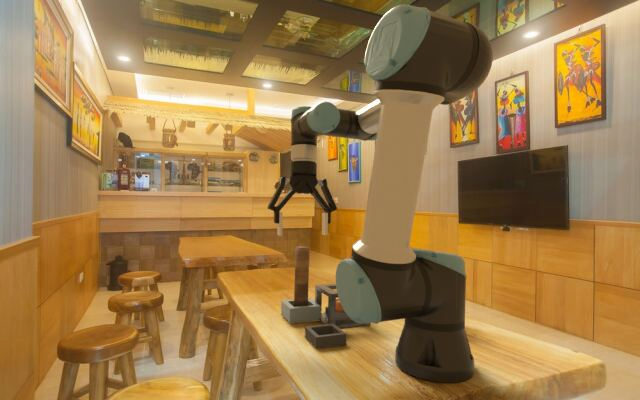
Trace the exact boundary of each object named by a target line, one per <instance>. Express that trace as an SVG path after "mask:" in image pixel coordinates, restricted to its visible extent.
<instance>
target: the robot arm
mask: <svg viewBox="0 0 640 400" xmlns="http://www.w3.org/2000/svg"><path fill="white" fill-rule="evenodd" d="M367 42H368V43H367V45H366V50H365V53H364V67H365V72H366V75H367V76H368V77H369V78H370V79H372V80H373V81H375V86H374V91H373V93H374V96H375V97H376V99H375V100H374V101H372V102H370V103H369V104H367V105H366V106H364V107H361V109H359V110H350V109H344V108H338V107H337V106H336V105H335V104H334V103H332V102H330V101H321V102H319V103H316V104H314V105H312V106H308V105H300V106H295V107H294V108H293V109H292V110H291V117H290V125H291V129H290V159H291V162H290V177H289V178H288V177H286V176H282V177H280V178H279V180H278V186H277V188H276V190H275V192H274V194H273V196H272V197H271V199H270V202H269V203H268V206H267V210H270V211H273V223H274V224H277V226H276V229H277V231H276V233H277V234H276V235H277V236H279V237H282V236H283V217H284V214H283V212H282V211H281V210H282V209H283V208H284V206H286V204H287V203H288V201H290V200H291V198H292V197H293V196H294V195H295V194H297V195H300V194H304V195H311V196H312V197H313V198H314V200H315V201H316V202H317V203H318V205H319V206H320V208H321V209H322V210H323V211H324V212H322V213H321V235H322V236H328V234H329V228H328V227H329V224H331V222H332V221H331V218H332V217H331V216H332V212H334V211H337V209H338V208H337V204H336V203H335V200H334V198H333V196H332V193H331V192H330V189H329V187H328V180H327V179H326V178H322V179H318V178H317V175H318V174H317V171H318V169H317V167H318V166H317V165H318V163H316V161H318V160H317V159H318V155H317V154H318V138H319V137H320V136H326V137H336V138H344V139H351V140H360V141H364V142H366V141H375V147H374V153H373V154H374V155H373V158H372V159H373V160H372V168H371V175H370V180H369V188H368V195H367V201H366V206H365V207H366V208H365V216H364V221H363V228H362V229H363V230H362V234H361V238H359V239H358V240H356V241H355V242H354V243H353V244H352V246H351V247H352V248H351V254H350V257H347V258H344V259H342V260H340V261H339V263H338V264H337V266H336V268H335V269H336V270H335V284H336V289H335V290H336V291H337V294H338V299H339V300H340V303H341V305H342V307H343V309H344V311H345V313H346V314H347V315H348V317H349V318H350V319H352V320H353V321H354V322H356V323H360V324H365V323H370V324H374V325H375V324H376V325H377V324H379V323H382V322H389V321H396V320H398V321H399V320H404V322H403V323H404V324H403V328H402V331H401V333H400V337H399V339H398V343H397V345H396V347H395V353H394V354H395V356H394V359H395V364H396V365H397V367H398V368H399V369H400V370H402V371H403V372H405V373H406V374H408V375H411V376H413V377H415V378H418V379H422V380H426V381H430V382H437V383H460V382H463V381H467V380H470V379H471V378H472V377H473V376H474V374H475V358H474V355H473V354H472V351H471V347H470V343H469V342H470V341H469V340H468V336H467V333H466V324H465V323H466V292H467V291H466V284H467V282H466V280H467V274H466V263H465V260H464V259H463V257H462V256H461V255H458V254H454V253H450V252H449V253H448V252H441V251H435V250H429V249H428V250H427V249H421V248H414V247H413V248H412V247H411V246H410V243H411V237H412V234H413V233H412V232H413V227H414V220H415V215H416V208H417V204H418V203H417V202H418V197H419V191H420V186H421V181H422V180H421V179H422V173H423V170H424V163H425V157H426V156H425V155H426V151H427V146H428V141H429V140H428V139H429V135H430V134H429V133H430V128H431V122H432V117H433V111H434V110H435V109H436V108H437V107H438V106H439V105H442V106H447V105H451V104H453V103H456V102H458V101H460V100H462V99H464V98H466V97H468V96H469V95H471V94H472V93H474V92H476V91H477V90H478V89H479V88H480V87H481V86H482V85H483V84H484V82H485V81H486V79H487V78H488V76H489V74H490V72H491V70H492V65H493V61H494V53H493V46H492V43H491V41H490V38H489V37H488V35H487V33H485V32H484V31H483V30H482V29H481V28H480V27H478V26H477V25H475V24H473V23H470V22H467V21H462V20H459V19H456V18H453V17H450V16H448V15H445V14H441V13H438V12H435V11H432V10H429V9H428V8H427V7H425V6H420V7H419V6H415V5H411V4H408V3H407V4H406V3H405V4H403V3H402V4H398V5H396V6H394V7H393V8H391V9H390V10H388V11H387V12H385V14H384V15H383V16H382V17H381V18H380V19H379V21H378V22H377V24H376V26H375V27H374V29H373V30H372V33H371V35H370V37H369V40H368V41H367ZM288 184H289V185H290V186H291V187H290V189H289V190H288V191H287V192H286V194H285V195H284V196H283V197H282V199H280V201H279V202H278V200H279V198H280V196H281V194H282V192H283V190H284V188H285V187H286V185H288ZM317 185H318V186H319V187H320V190H321V192H322V194H323V196H324V198H323V197H322V196H321V194H320V192H319V191H318V189H317V188H316V186H317ZM325 200H326V201H325ZM277 202H278V203H277Z"/></svg>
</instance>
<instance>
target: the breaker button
mask: <svg viewBox="0 0 640 400" xmlns="http://www.w3.org/2000/svg"><path fill="white" fill-rule="evenodd" d="M336 312H344V309H343V307H342V305H341V303H340V300H339V298H336Z"/></svg>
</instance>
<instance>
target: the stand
mask: <svg viewBox="0 0 640 400" xmlns="http://www.w3.org/2000/svg"><path fill="white" fill-rule="evenodd" d="M304 329H305V331H304V338H305V339H306V340H307V341H308V342H309V343H310V344H311V346H313V347H314V349H325V348H334V347H341V346H346V345H347V334H348V333H346V332H345V331H343V330H342V328H338V327H337V326H336V325H335V324H326V325H324V324H317V325H310V326H309V325H308V326H305V327H304Z"/></svg>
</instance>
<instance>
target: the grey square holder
mask: <svg viewBox="0 0 640 400" xmlns="http://www.w3.org/2000/svg"><path fill="white" fill-rule="evenodd" d="M280 309H281V310H280V314H281V316H283V318H284V319H285V321H286V322H288V324H300V323H308V322H320V321H319V318H321V313H322V311H321V306H320V305H319V304H317V303H315V300H313V299H312V298H311V297H308V306H298V307H294V299H282V300H281V306H280Z"/></svg>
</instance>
